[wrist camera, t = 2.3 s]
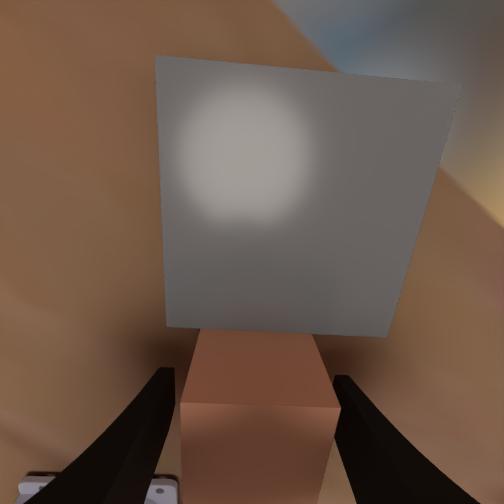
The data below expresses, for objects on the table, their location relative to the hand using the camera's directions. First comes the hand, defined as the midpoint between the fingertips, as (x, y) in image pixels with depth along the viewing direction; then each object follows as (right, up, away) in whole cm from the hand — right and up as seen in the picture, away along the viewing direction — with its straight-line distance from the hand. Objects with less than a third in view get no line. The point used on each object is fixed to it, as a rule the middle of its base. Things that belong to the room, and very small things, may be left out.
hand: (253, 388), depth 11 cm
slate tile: (+1, +8, 0) cm, 8 cm away
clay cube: (0, +1, +2) cm, 2 cm away
